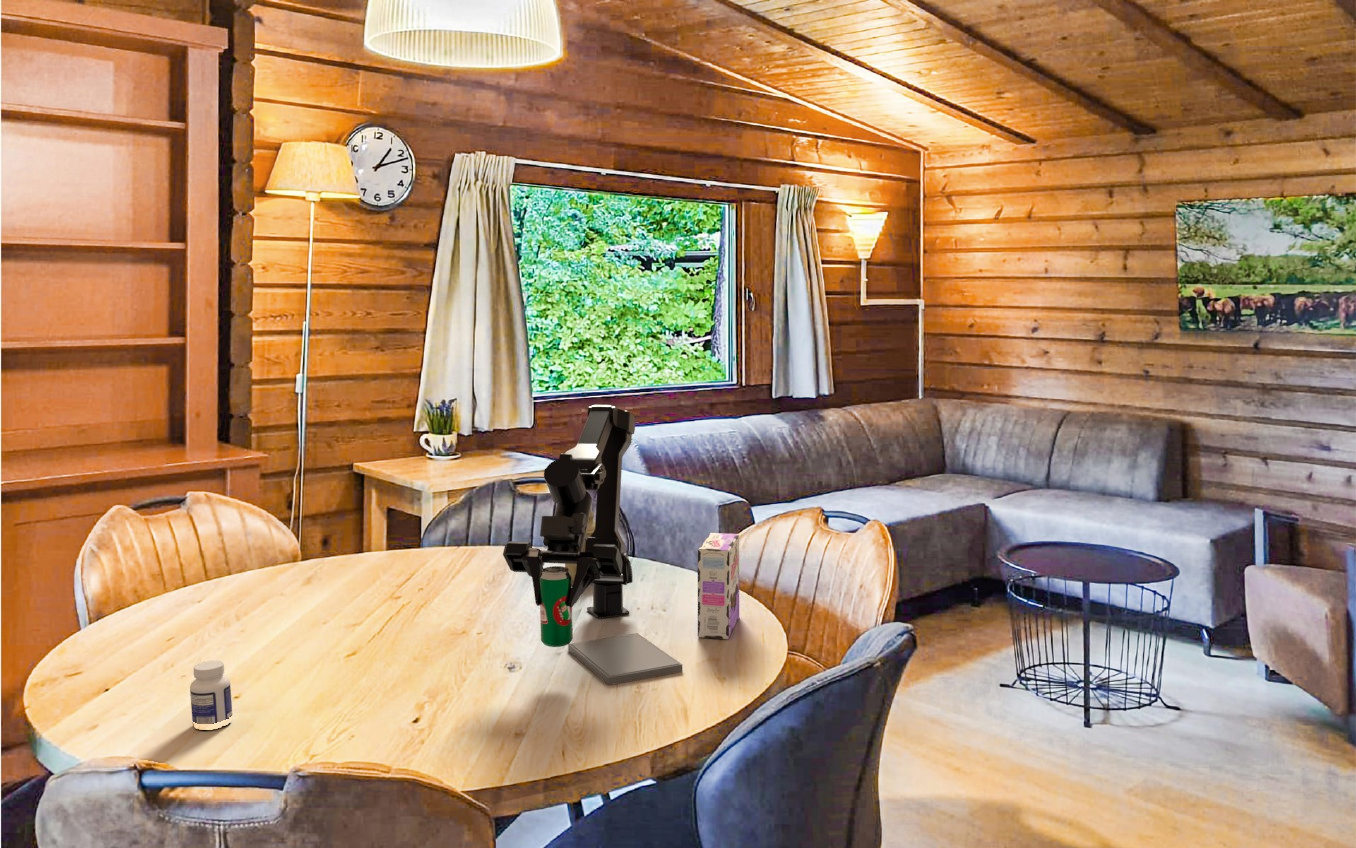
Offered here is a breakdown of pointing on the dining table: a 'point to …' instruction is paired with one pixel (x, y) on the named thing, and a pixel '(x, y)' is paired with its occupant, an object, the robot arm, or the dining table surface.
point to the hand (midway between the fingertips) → (553, 605)
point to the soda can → (555, 606)
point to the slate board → (624, 658)
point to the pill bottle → (210, 693)
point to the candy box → (718, 585)
